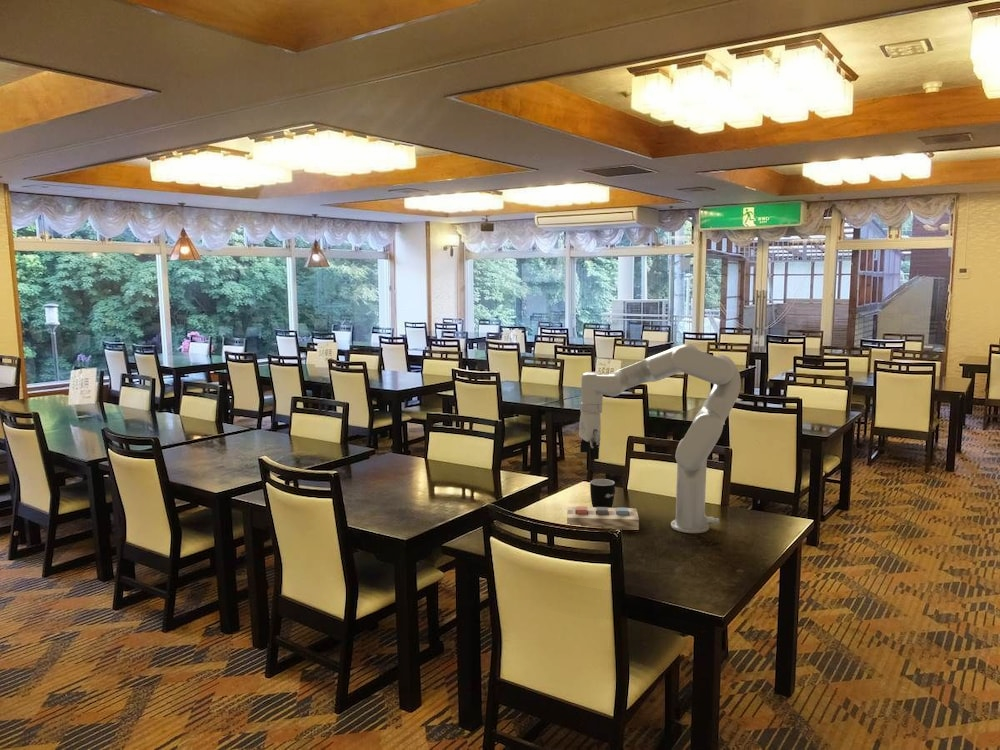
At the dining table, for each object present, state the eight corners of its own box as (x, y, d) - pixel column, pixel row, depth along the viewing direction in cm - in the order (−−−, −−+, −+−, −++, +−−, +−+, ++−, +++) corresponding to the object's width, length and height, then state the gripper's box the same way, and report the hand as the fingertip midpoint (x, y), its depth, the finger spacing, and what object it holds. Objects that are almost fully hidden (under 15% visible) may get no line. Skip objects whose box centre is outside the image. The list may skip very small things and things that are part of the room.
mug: (605, 514, 260) (605, 487, 259) (585, 509, 266) (585, 482, 265) (624, 506, 268) (624, 480, 267) (604, 501, 275) (604, 475, 273)
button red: (586, 514, 252) (587, 506, 251) (587, 517, 248) (587, 509, 248) (576, 514, 252) (576, 506, 252) (576, 517, 248) (576, 509, 248)
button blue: (627, 515, 250) (627, 507, 250) (628, 518, 247) (628, 510, 246) (617, 515, 251) (617, 507, 250) (617, 518, 247) (617, 510, 247)
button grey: (607, 514, 251) (607, 507, 251) (607, 518, 247) (607, 510, 247) (596, 514, 251) (596, 506, 251) (597, 518, 248) (597, 510, 247)
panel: (635, 519, 254) (636, 508, 254) (638, 531, 242) (638, 519, 242) (567, 517, 257) (567, 506, 256) (566, 528, 245) (567, 517, 245)
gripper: (573, 403, 259) (571, 449, 261) (589, 412, 242) (587, 462, 244) (593, 403, 260) (591, 449, 263) (610, 412, 243) (608, 461, 246)
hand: (589, 455), depth 253 cm, fingers open, 9 cm apart
